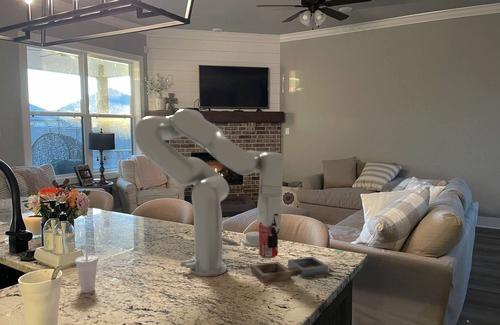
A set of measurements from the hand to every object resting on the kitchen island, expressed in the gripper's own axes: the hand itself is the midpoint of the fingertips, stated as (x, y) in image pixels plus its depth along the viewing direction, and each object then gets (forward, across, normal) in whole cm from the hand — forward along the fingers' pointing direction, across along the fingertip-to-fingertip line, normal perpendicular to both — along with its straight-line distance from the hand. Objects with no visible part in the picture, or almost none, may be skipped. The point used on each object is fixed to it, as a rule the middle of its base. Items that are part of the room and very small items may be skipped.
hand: (268, 243), depth 123 cm
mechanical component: (+12, -35, +10) cm, 38 cm away
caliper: (+12, -41, -5) cm, 43 cm away
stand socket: (+11, +1, +1) cm, 11 cm away
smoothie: (+13, -8, -55) cm, 57 cm away
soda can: (+4, 0, 0) cm, 4 cm away
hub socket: (+10, +1, +13) cm, 17 cm away
